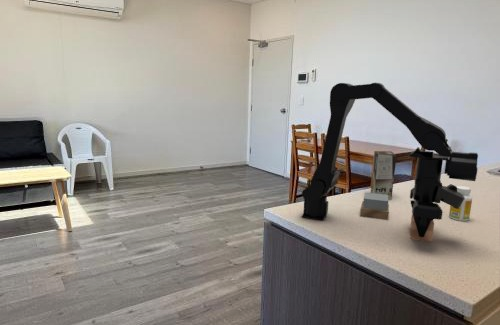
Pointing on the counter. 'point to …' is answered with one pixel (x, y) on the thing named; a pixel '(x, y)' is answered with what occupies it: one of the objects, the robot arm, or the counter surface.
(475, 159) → the robot arm
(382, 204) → the slate top slab
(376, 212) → the walnut base slab
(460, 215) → the supplement bottle
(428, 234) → the terracotta cube
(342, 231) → the counter surface
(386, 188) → the coffee box
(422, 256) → the counter surface
